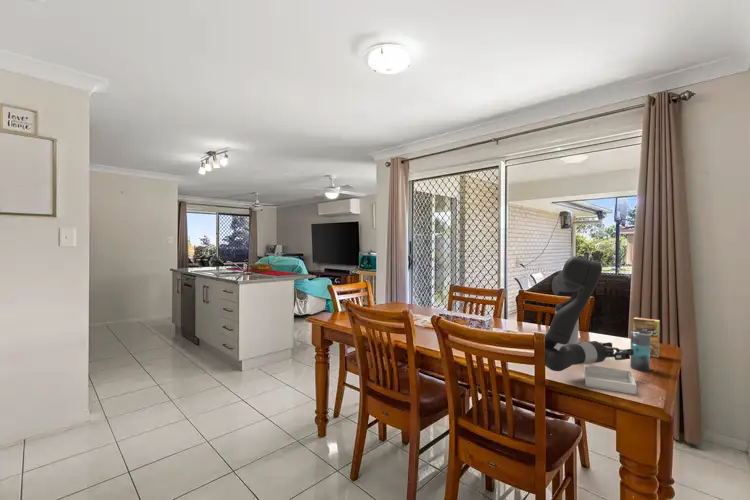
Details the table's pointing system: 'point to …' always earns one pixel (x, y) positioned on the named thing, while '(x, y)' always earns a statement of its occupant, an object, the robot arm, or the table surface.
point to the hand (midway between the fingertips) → (621, 348)
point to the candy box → (653, 328)
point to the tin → (640, 350)
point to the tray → (609, 379)
